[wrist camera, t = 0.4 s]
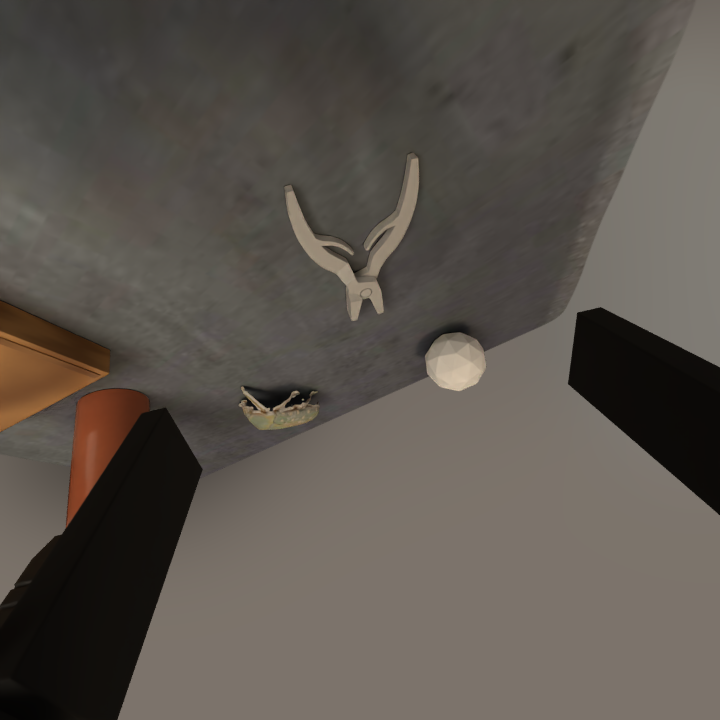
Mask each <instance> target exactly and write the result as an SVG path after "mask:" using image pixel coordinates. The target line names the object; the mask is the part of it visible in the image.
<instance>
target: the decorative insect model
mask: <svg viewBox="0 0 720 720" xmlns="http://www.w3.org/2000/svg"><path fill="white" fill-rule="evenodd" d="M240 388H241V389H242V391H243V394H244V395H245V396H246V397H247V398H248V399H249V400H250V401H251V402H252V403H253V404H254V405H255V406H256V407H257V408H258V410H257V411H253V407H248V406H246V404H245V403H247V400H242V401H241V403H240V404H239V406H241V407H242V409H243V412H244V414H245V416H247V418H248V420H249V421H250V422H251V423H252V424H253V425H254V426H255V427H256V428H257V429H260V430H266V429H268V430H275V429H282V428H287V427H292V426H296V425H299V424H304V423H306V422H308V421H311V420H312V419H314V418H315V417H316V416H317V414H318V413H319V407H320V405H319V404H318V403H319V402H317V404H316V405H311V404H308V403H309V402H310V400H311V396H312V395H314V394H316V393H317V392H318V391H317V392H314V391H312V392H311V394H310V395H309V396H310V399H308V400H307V402H305V403H304V402H302V404H301V405H294V406H292V407H288V408H285V405H286V403H287V402H289V401H290V400H291V398H293V397H296V395H299V394H300V393H299V392H298V391H294V392H292V393H291V396H290V397H289V398H288V399H287V400H285V401H284V402H283V403H282V402H281V403H282V404H280V405H278V406H276V407H275V408H274V409H273V412H272V411H269V410H270V408H265V406H263V405H262V404H260V403H259V402H258V401H257V400H256V399H254V398H253V396H251V395H250V394H248V392H247V391H245V389H244V387H240ZM303 400H304V399H302V401H303Z"/></svg>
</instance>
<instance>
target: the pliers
mask: <svg viewBox="0 0 720 720" xmlns="http://www.w3.org/2000/svg"><path fill="white" fill-rule="evenodd" d="M418 188H419V166H418V157H417V156H416V155H415V153H410V154H407V162H406V169H405V175H404V180H403V186H402V191H401V194H400V198H399V201H398V204H397V208H396V210H395V211H394V212H393V213H392V214H391V215H390V216H389V217H387V218H386V219H384V220H383V221H381V222H380V223H379V224H378V225H377V226H376V227H375V228H374V229H373V230H372V231H371V233H370V234H369V236H368V237H367V239H366V241H365V242H364V244H363V245H364V247H365V249H366V250H369V249H370V247H371V245H372V244H373V242H374V241H375V240H376V238H377V237H378V236H379V235H380V234H382V233H383V232H384V231H385V230H386V232H385V233H384V234H383V236H382V237H381V238H380V240H379V241H378V242H377V243H376V245H375V246H374V247H373V248H372V250H371V251H370V255H369V259H368V262H367V266H366V267H365V268H363V269H361V270H359V271H357V272H356V273H353V271H352V269H351V267H350V265H349V263H348V261H347V259H346V258H345V257H343V256H341V255H339V254H337V253H335V252H333V251H332V250H330V249H328V248H327V247H325V246H330V245H333V246H337V247H341V248H342V249H344V250H346V251H347V252H348V253H350V254H351V255H353V254H354V252H353V250H352V248H351V247H350V246H349V245H348V244H347V243H345V242H344V241H342V240H341V239H339V238H336V237H332V236H325V235H318V234H315V233H313V231H312V230H311V228H310V226H309V225H308V223H307V221H306V220H305V218H304V216H303V214H302V211H301V209H300V207H299V204H298V202H297V199H296V197H295V194H294V191H293V188H292V186H291V185H288V186H284V189H285V199H286V205H287V211H288V215H289V218H290V221H291V224H292V227H293V230H294V232H295V234H296V236H297V239H298V240H299V242H300V244H301V245H302V247H303V248H304V250H305V251H306V252H307V254H308V255H309V256H310V257H311V258H312V259H313V260H314V261H315V262H316V263H317V264H318V265H320V266H321V267H323V268H324V269H326V270H329V271H331V272H334V273H336V274H337V275H338V276H339V278H340V279H341V280H342V281H343V282H344V283H345V285H346V299H347V311H348V313H349V316H350V318H351V321H355V320H357V319H358V315H359V311H360V308H361V304H362V299H366V298H370V299H371V301H372V303H373V305H374V307H375V309H376V311H377V313H378V314H380V313H382V312H384V311H383V301H382V291H381V289H380V287H379V285H378V282H377V280H376V278H377V277H378V274H379V270H380V268H381V266H382V265H383V263H384V261H385V260H386V258H387V257H388V256H389V255H390V254H391V253H392V252H393V251H394V250H395V248H396V247H397V246H398V244H399V243H400V241H401V240H402V238H403V236H404V234H405V232H406V230H407V228H408V226H409V223H410V221H411V218H412V215H413V212H414V209H415V206H416V201H417V196H418Z"/></svg>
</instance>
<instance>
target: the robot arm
mask: <svg viewBox="0 0 720 720" xmlns="http://www.w3.org/2000/svg"><path fill="white" fill-rule="evenodd" d="M568 384H569V385H570V386H571V387H572V388H573V389H574V390H576V391H577V392H578V393H579V394H580V395H581V396H583V397H584V398H585V399H586V400H587V401H588V402H589V403H591V404H592V405H593V406H594V407H595V408H596V409H598V410H599V411H600V412H601V413H602V414H603V415H604V416H606V417H607V418H608V419H609V420H610V421H612V422H613V423H614V424H615V425H616V426H617V427H618V428H620V429H621V430H622V431H623V432H624V433H626V434H627V435H628V436H629V437H630V438H631V439H632V440H633V441H635V442H636V443H637V444H638V445H639V446H640V447H642V448H643V449H644V450H645V451H646V452H647V453H648V454H650V455H651V456H652V457H653V458H654V459H655V460H657V461H658V462H659V463H660V464H661V465H663V466H664V467H665V468H666V469H667V470H668V471H669V472H671V473H672V474H673V475H674V476H675V477H676V478H677V479H679V480H680V481H681V482H682V483H683V484H684V485H685V486H687V487H688V488H689V489H690V490H691V491H692V492H694V493H695V494H696V495H697V496H698V497H699V498H701V499H702V500H703V501H704V502H705V503H706V504H707V505H709V506H710V507H711V508H712V509H713V510H715V511H716V512H717V513H718V514H719V515H720V367H718V366H716V365H714V364H712V363H710V362H708V361H706V360H704V359H702V358H700V357H698V356H696V355H694V354H692V353H690V352H688V351H686V350H684V349H682V348H681V347H679V346H676V345H675V344H673V343H671V342H669V341H667V340H665V339H663V338H661V337H659V336H657V335H654V334H653V333H651V332H649V331H647V330H645V329H643V328H641V327H639V326H637V325H635V324H633V323H631V322H629V321H627V320H625V319H623V318H621V317H619V316H617V315H615V314H613V313H611V312H609V311H607V310H605V309H603V308H601V307H600V308H596V309H591V310H587V311H583V312H578V313H577V319H576V327H575V335H574V343H573V350H572V357H571V365H570V374H569V380H568ZM202 470H203V469H202V468H201V466H200V464H199V463H198V461H197V459H196V457H195V456H194V454H193V452H192V451H191V449H190V447H189V446H188V444H187V442H186V441H185V439H184V437H183V435H182V434H181V432H180V430H179V429H178V427H177V425H176V424H175V422H174V420H173V419H172V417H171V415H170V413H169V412H168V410H167V408H162V409H158V410H153V411H149V412H145V413H141V415H140V416H139V418H138V419H137V421H136V422H135V424H134V425H133V427H132V429H131V430H130V432H129V433H128V435H127V436H126V438H125V439H124V441H123V442H122V444H121V445H120V447H119V448H118V450H117V451H116V453H115V454H114V456H113V457H112V459H111V460H110V462H109V464H108V465H107V467H106V468H105V470H104V471H103V473H102V474H101V476H100V477H99V479H98V480H97V482H96V483H95V485H94V486H93V488H92V489H91V491H90V492H89V494H88V496H87V497H86V499H85V500H84V502H83V503H82V505H81V506H80V508H79V509H78V511H77V512H76V514H75V515H74V517H73V518H72V520H71V521H70V523H69V524H68V526H67V528H66V529H65V531H64V532H63V534H62V535H58V536H55V537H54V538H53V539H52V540H51V541H50V542H49V543H48V544H47V545H46V546H45V547H44V548H43V549H42V550H41V551H40V552H39V553H38V554H37V555H36V556H35V557H34V558H33V559H32V560H31V562H30V563H29V564H28V566H27V567H26V569H25V570H24V572H23V573H22V575H21V576H20V577H19V579H18V580H17V582H16V583H15V588H14V589H12V590H10V592H9V593H8V595H7V596H6V598H5V599H4V601H3V602H2V604H1V605H0V720H117V719H118V716H119V713H120V710H121V707H122V704H123V702H124V698H125V695H126V692H127V690H128V687H129V683H130V681H131V678H132V675H133V672H134V669H135V666H136V663H137V660H138V657H139V654H140V652H141V649H142V646H143V643H144V640H145V637H146V634H147V631H148V628H149V625H150V622H151V619H152V616H153V613H154V610H155V608H156V604H157V602H158V599H159V596H160V593H161V590H162V587H163V584H164V581H165V578H166V575H167V572H168V569H169V566H170V563H171V560H172V558H173V555H174V551H175V549H176V546H177V543H178V540H179V537H180V534H181V531H182V528H183V525H184V522H185V519H186V517H187V514H188V511H189V508H190V504H191V502H192V499H193V496H194V493H195V490H196V487H197V484H198V481H199V478H200V475H201V472H202Z"/></svg>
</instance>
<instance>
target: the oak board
mask: <svg viewBox="0 0 720 720" xmlns="http://www.w3.org/2000/svg"><path fill="white" fill-rule="evenodd" d="M109 367H110V350H108V349H106V348H104V347H102V346H100V345H97V344H95V343H93V342H91V341H89V340H86V339H84V338H82V337H80V336H77V335H75V334H73V333H71V332H69V331H66V330H64V329H62V328H60V327H58V326H55V325H53V324H51V323H49V322H47V321H44V320H42V319H40V318H38V317H35V316H33V315H31V314H29V313H27V312H24V311H22V310H20V309H18V308H16V307H13V306H11V305H9V304H7V303H4V302H2V301H0V432H1V431H3V430H5V429H7V428H9V427H11V426H13V425H14V424H16V423H18V422H20V421H22V420H24V419H26V418H27V417H29V416H31V415H33V414H35V413H37V412H39V411H41V410H42V409H44V408H46V407H48V406H50V405H52V404H54V403H55V402H57V401H59V400H61V399H63V398H65V397H67V396H68V395H70V394H72V393H74V392H76V391H78V390H80V389H82V388H83V387H85V386H87V385H89V384H91V383H93V382H95V381H96V380H98V379H100V378H102V377H104V376H106V375H108V374H109Z"/></svg>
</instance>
